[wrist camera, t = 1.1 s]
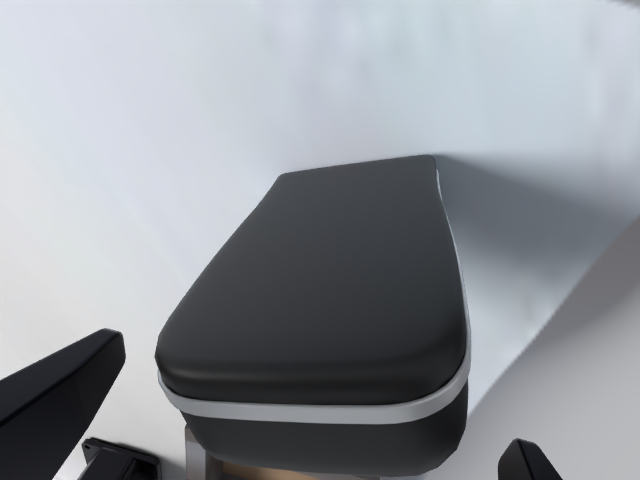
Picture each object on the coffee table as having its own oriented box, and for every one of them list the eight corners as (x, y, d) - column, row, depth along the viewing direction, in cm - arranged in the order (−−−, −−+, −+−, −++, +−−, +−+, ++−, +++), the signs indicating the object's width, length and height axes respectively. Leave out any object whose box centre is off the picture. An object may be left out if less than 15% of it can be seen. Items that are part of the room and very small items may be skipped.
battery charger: (293, 245, 19) (177, 490, 10) (273, 171, 17) (106, 378, 8) (445, 233, 17) (490, 520, 8) (439, 149, 16) (490, 384, 6)
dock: (355, 508, 30) (348, 572, 27) (205, 465, 31) (180, 521, 28) (395, 413, 24) (393, 480, 20) (206, 361, 25) (173, 418, 21)
